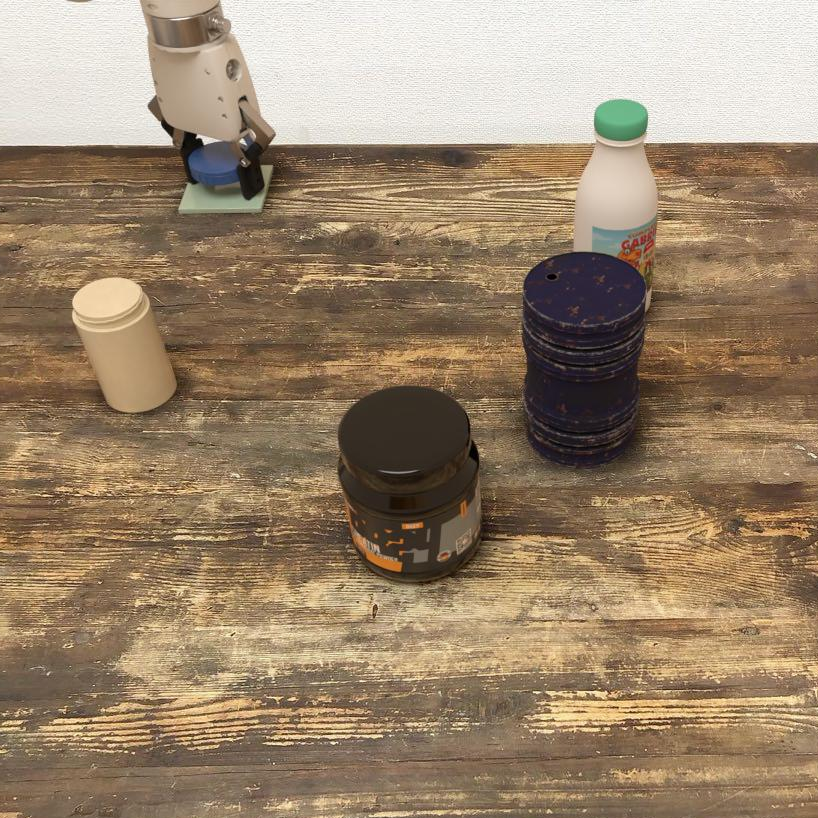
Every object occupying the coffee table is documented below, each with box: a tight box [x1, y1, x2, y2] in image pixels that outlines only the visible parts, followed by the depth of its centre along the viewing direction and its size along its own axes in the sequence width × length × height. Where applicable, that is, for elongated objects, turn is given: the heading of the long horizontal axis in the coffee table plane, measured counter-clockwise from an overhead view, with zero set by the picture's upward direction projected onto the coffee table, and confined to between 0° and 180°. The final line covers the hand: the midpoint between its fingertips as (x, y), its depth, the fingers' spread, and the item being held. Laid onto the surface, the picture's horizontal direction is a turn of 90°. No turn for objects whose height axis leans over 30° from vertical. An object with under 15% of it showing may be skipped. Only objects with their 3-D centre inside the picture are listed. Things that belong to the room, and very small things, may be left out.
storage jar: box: [521, 251, 647, 469], centre depth 88 cm, size 10×10×15 cm
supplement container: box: [336, 384, 484, 583], centre depth 81 cm, size 10×10×12 cm
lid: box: [188, 140, 248, 186], centre depth 117 cm, size 7×7×2 cm
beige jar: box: [71, 277, 178, 414], centre depth 94 cm, size 6×6×10 cm
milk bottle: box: [572, 98, 659, 312], centre depth 98 cm, size 8×8×20 cm
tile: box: [177, 164, 275, 215], centre depth 120 cm, size 9×9×1 cm
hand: (226, 184), depth 119 cm, fingers closed on lid, 6 cm apart
